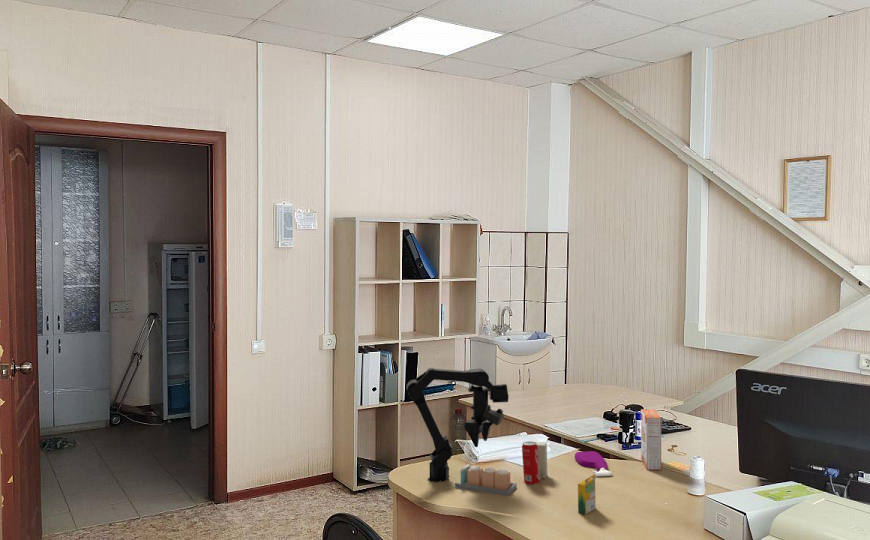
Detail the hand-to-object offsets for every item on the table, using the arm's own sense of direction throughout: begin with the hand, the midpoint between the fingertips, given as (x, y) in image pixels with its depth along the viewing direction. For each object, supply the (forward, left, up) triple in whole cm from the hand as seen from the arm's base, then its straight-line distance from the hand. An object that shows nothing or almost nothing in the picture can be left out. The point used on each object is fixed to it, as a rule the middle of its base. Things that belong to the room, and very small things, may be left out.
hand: (480, 443), depth 263 cm
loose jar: (+2, -10, -12) cm, 16 cm away
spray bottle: (+36, +31, -14) cm, 49 cm away
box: (+20, +10, -13) cm, 26 cm away
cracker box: (+56, +42, -13) cm, 71 cm away
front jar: (+12, -10, -12) cm, 20 cm away
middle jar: (+8, -10, -12) cm, 18 cm away
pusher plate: (-2, -10, -12) cm, 16 cm away
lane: (+6, -10, -13) cm, 18 cm away
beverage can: (+19, +2, -13) cm, 23 cm away
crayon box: (+44, -16, -13) cm, 49 cm away
